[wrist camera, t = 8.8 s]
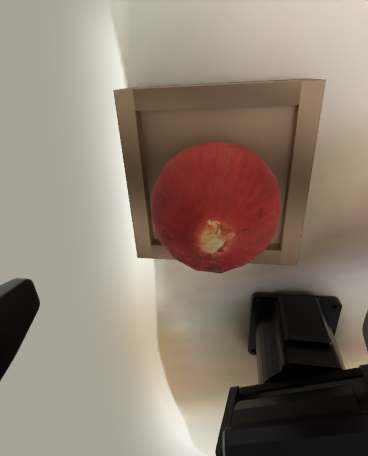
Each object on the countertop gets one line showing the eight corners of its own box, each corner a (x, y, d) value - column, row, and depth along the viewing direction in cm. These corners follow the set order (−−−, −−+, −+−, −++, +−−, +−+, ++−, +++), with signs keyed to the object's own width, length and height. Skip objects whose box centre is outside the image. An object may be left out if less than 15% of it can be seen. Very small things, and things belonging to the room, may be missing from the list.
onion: (256, 238, 18) (283, 331, 11) (162, 227, 18) (126, 309, 11) (276, 139, 16) (329, 171, 8) (168, 129, 16) (127, 150, 9)
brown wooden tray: (288, 239, 20) (297, 265, 18) (150, 234, 22) (137, 257, 19) (310, 78, 16) (325, 79, 13) (133, 87, 17) (113, 90, 15)
